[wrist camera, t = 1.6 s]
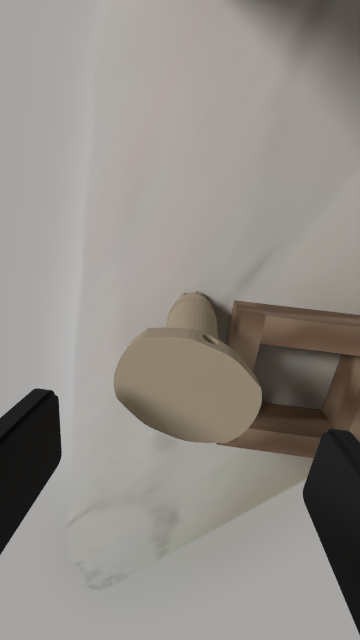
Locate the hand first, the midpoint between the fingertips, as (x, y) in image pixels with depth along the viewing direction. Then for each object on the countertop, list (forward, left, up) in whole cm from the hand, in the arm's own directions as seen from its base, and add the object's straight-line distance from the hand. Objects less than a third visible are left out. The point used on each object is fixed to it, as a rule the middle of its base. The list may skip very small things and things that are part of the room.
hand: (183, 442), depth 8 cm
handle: (-1, 0, -17) cm, 17 cm away
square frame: (+5, +11, -17) cm, 21 cm away
